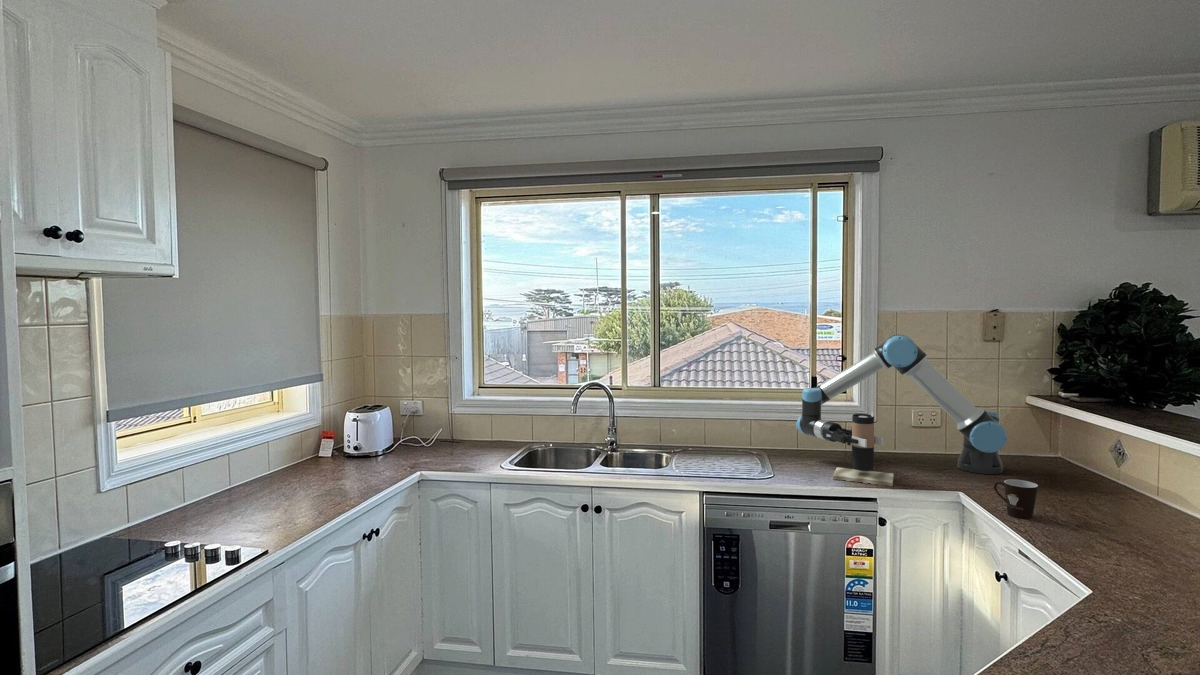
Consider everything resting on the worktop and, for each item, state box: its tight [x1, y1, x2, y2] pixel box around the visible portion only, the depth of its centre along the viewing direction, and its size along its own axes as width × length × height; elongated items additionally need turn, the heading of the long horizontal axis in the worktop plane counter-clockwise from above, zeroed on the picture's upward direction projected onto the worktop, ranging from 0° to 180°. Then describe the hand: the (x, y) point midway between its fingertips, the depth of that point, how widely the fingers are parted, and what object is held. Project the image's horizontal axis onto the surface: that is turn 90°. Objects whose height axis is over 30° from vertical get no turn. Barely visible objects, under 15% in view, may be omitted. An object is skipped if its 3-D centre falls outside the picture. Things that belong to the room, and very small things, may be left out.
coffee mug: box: [993, 479, 1039, 520], centre depth 189 cm, size 12×9×10 cm
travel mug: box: [851, 413, 875, 471], centre depth 229 cm, size 8×8×20 cm
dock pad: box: [832, 467, 894, 487], centre depth 229 cm, size 20×13×2 cm, turn 63°
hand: (874, 442), depth 224 cm, fingers closed on travel mug, 7 cm apart
